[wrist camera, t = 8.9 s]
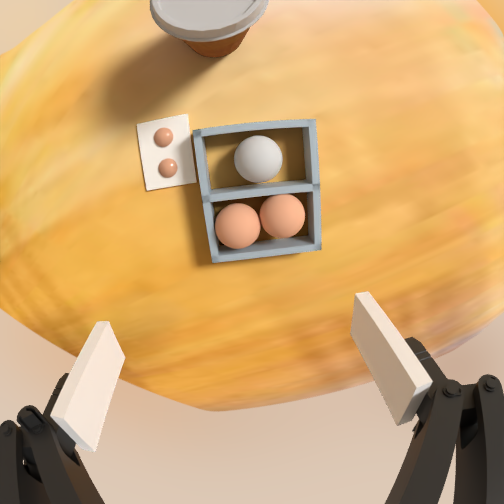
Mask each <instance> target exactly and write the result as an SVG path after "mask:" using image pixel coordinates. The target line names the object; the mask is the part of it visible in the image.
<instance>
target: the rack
mask: <svg viewBox="0 0 504 504" xmlns="http://www.w3.org/2000/svg"><path fill="white" fill-rule="evenodd" d="M294 127H302V133H303V145H304V158H305V173H306V179H305V180H293V181H282V182H271V183H261V184H252V185H243V186H235V187H227V188H219V189H211V185H210V178H209V170H208V163H207V155H206V147H205V139H204V136H211V135H218V134H226V133H234V132H243V131H253V130H264V129H277V128H294ZM193 138H194V146H195V153H196V161H197V168H198V175H199V182H200V189H201V196H202V202H203V209H204V215H205V221H206V228H207V234H208V240H209V246H210V251H211V257H212V263H217V262H226V261H234V260H243V259H251V258H260V257H268V256H276V255H284V254H293V253H301V252H309V251H317V250H321V202H320V178H319V159H318V144H317V131H316V119H300V120H280V121H266V122H254V123H244V124H235V125H226V126H218V127H211V128H204V129H198V130H193ZM298 192H307V212H308V235H307V236H298V237H289V238H281V239H272V240H263V241H255V242H253V243H252V244H251V245H250V246H248V247H245V248H241V249H234V248H230V247H228V246H226V245H222V246H219V240H218V237H217V234H216V231H215V221H216V220H215V213H214V206H213V202H216V201H224V200H232V199H240V198H249V197H258V196H267V195H277V194H287V193H298Z"/></svg>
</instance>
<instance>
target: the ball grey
mask: <svg viewBox="0 0 504 504" xmlns="http://www.w3.org/2000/svg"><path fill="white" fill-rule="evenodd" d="M234 163H235V167H236V169H237V171H238V173H239V174H240V175H241V176H242V177H243V178H245V179H246V180H248V181H251V182H256V183H261V182H266V181H268V180H270V179H272V178H273V177H275V176H276V175H277V173H278V172H279V170H280V168H281V166H282V153H281V150H280V148H279V146H278V145H277V144H276V143H275V142H274V141H273V140H271V139H270V138H268V137H265V136H252V137H249V138H247V139H245V140H243V141H242V142H241V143H240V144H239V146H238V147H237V149H236V151H235V155H234Z"/></svg>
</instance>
